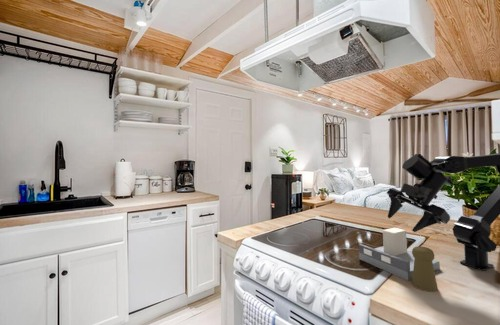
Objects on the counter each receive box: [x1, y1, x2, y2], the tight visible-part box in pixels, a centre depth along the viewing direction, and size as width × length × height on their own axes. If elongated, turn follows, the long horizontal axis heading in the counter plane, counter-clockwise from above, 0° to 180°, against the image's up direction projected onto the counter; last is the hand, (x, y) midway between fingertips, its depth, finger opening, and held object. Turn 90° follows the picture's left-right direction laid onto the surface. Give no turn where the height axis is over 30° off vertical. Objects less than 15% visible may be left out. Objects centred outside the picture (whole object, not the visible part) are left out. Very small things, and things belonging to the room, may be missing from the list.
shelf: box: [358, 243, 441, 281], centre depth 83 cm, size 16×18×6 cm
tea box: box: [382, 227, 408, 256], centre depth 87 cm, size 6×5×8 cm
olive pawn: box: [411, 246, 438, 292], centre depth 68 cm, size 6×6×11 cm
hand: (400, 224), depth 79 cm, fingers open, 9 cm apart
